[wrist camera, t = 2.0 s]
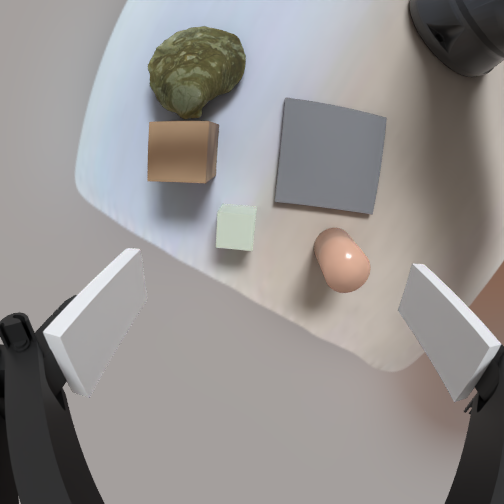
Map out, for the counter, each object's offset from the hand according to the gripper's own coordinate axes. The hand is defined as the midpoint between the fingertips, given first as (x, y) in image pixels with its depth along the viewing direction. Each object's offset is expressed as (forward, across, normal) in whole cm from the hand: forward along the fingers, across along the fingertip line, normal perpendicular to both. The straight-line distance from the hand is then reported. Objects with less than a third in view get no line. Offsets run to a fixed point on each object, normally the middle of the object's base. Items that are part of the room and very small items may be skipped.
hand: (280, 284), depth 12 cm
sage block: (+21, -3, -3) cm, 21 cm away
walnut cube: (+21, -9, +5) cm, 23 cm away
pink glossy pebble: (+21, +8, -6) cm, 23 cm away
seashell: (+22, -8, +18) cm, 30 cm away
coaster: (+21, +7, +5) cm, 22 cm away
